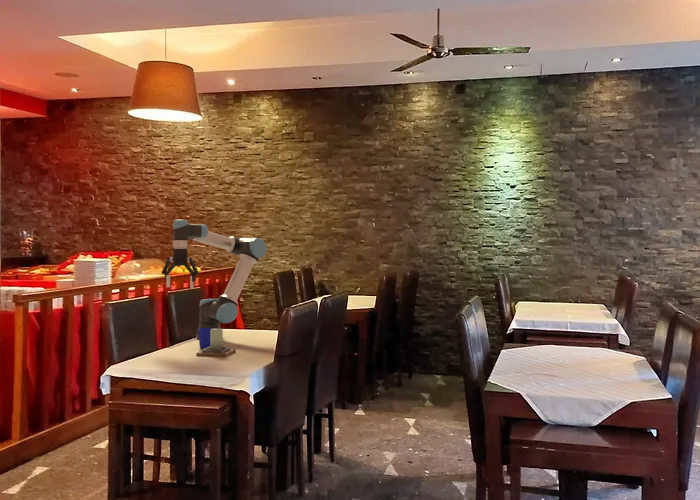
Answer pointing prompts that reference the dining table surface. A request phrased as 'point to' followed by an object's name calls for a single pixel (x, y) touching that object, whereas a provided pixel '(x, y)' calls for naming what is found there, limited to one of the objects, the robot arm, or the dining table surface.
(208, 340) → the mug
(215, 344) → the sleeve
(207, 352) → the socket board
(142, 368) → the dining table surface
